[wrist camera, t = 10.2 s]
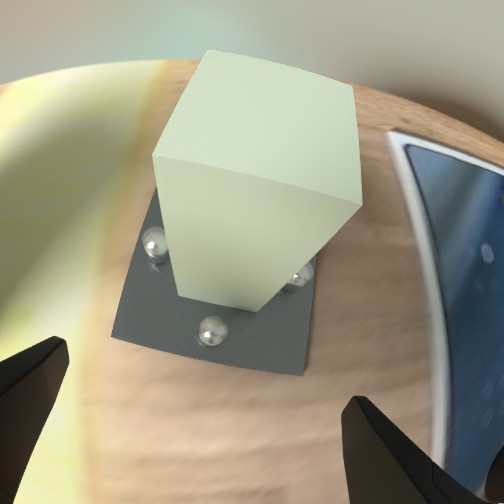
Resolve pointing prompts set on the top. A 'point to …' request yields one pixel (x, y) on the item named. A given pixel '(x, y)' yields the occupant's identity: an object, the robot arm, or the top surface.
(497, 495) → the bottle
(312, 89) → the sage block
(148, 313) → the grey peg board
